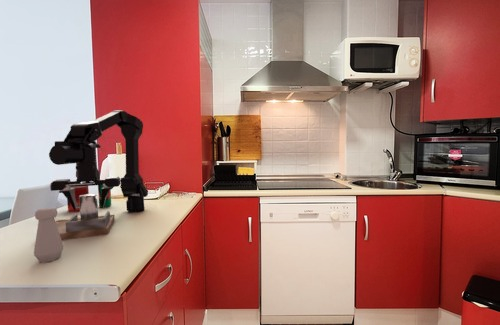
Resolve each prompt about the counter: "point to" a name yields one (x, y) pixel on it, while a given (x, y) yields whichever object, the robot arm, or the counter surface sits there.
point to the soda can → (108, 198)
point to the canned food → (78, 192)
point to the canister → (88, 206)
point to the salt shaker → (47, 236)
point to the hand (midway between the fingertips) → (89, 208)
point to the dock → (84, 226)
